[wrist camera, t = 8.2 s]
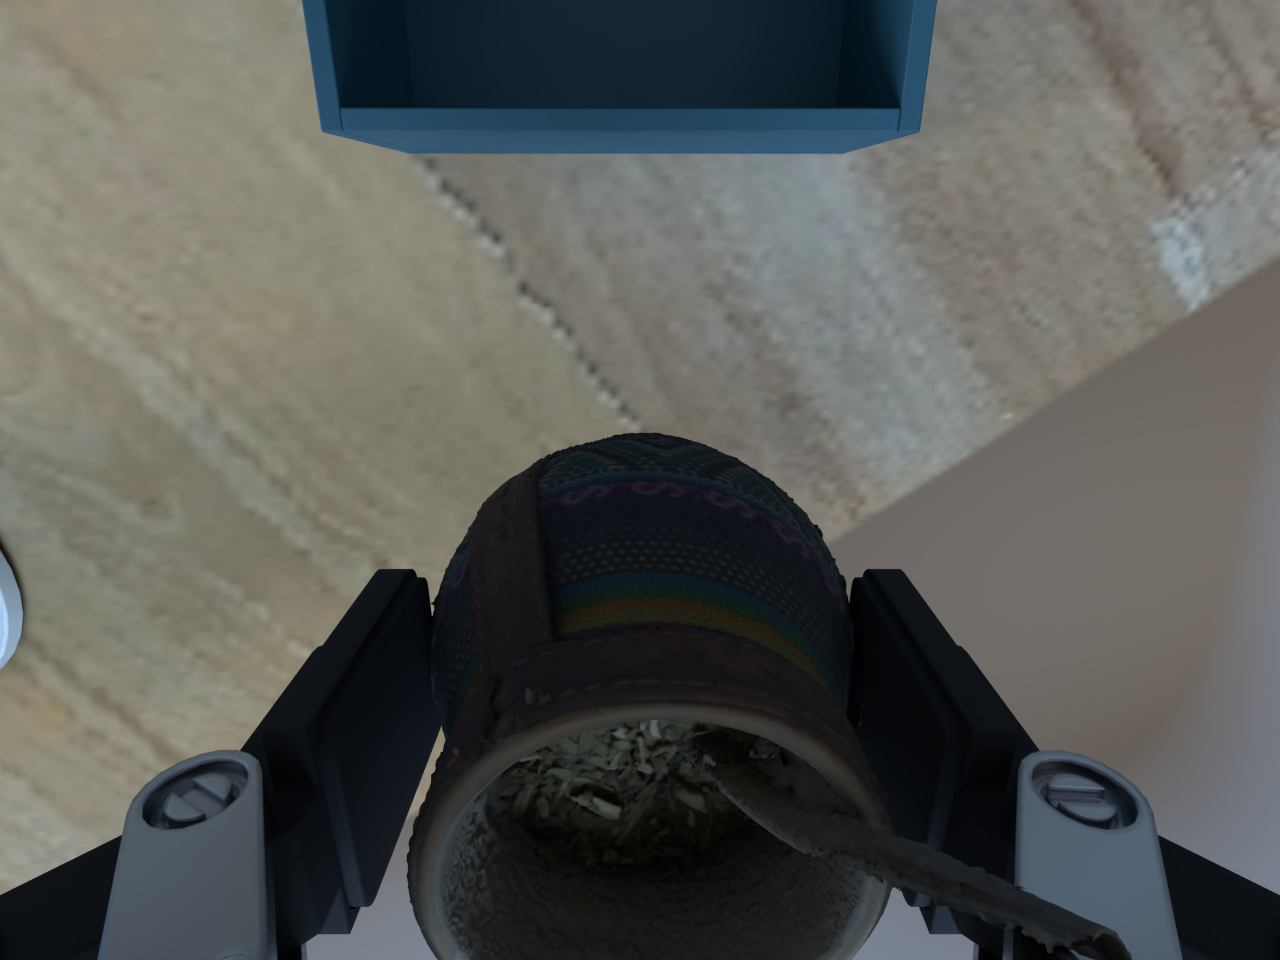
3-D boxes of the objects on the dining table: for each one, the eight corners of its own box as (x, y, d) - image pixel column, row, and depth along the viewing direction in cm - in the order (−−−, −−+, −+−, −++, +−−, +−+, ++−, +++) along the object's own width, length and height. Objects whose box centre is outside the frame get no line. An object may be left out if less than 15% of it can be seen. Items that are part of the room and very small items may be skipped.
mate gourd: (399, 542, 15) (13, 1106, 6) (672, 307, 13) (779, 550, 4) (620, 743, 17) (610, 1398, 8) (882, 562, 15) (1279, 1123, 6)
